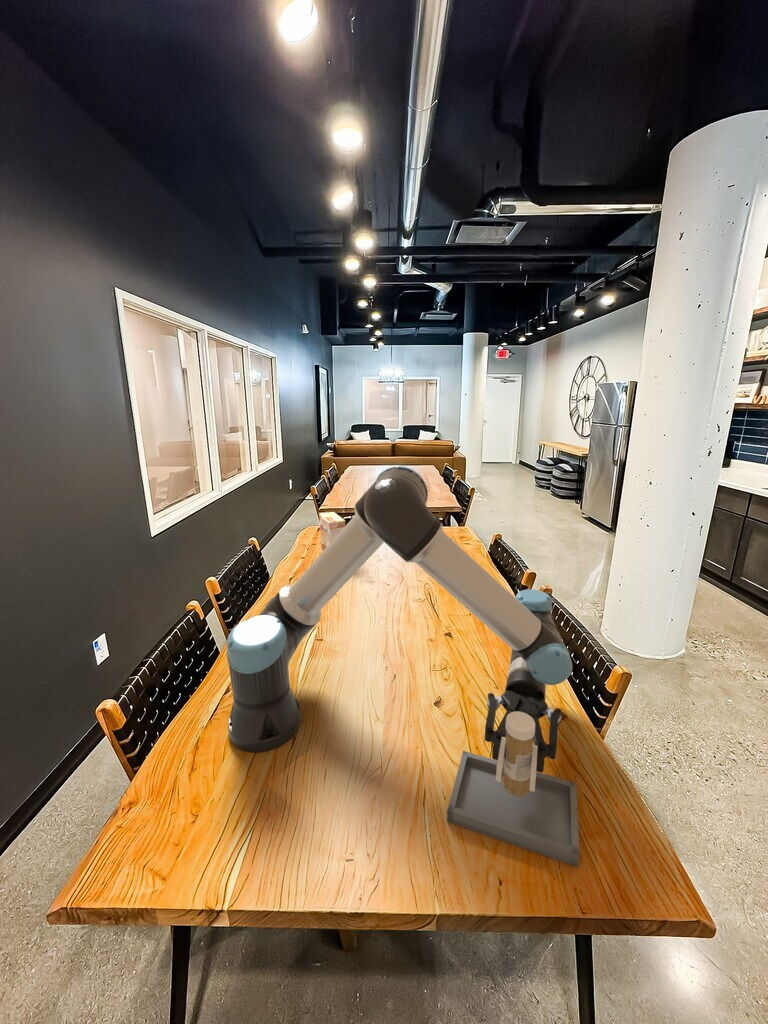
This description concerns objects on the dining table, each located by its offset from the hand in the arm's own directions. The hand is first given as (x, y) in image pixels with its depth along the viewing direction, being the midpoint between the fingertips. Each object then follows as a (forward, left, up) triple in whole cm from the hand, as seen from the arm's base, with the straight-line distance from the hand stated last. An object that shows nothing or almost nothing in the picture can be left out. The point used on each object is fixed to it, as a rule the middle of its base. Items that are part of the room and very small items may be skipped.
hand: (515, 779), depth 66 cm
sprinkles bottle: (0, +5, -7) cm, 9 cm away
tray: (0, +5, -12) cm, 13 cm away
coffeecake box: (-83, +96, -12) cm, 128 cm away
